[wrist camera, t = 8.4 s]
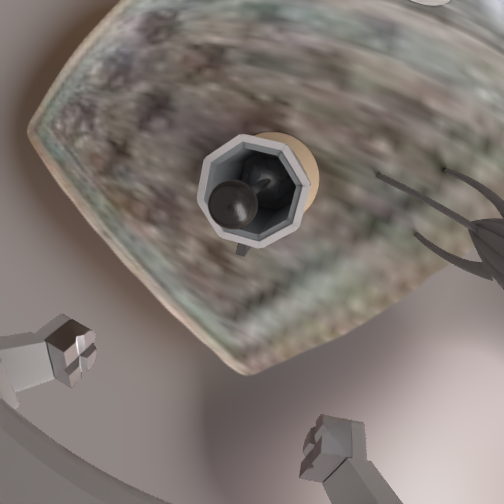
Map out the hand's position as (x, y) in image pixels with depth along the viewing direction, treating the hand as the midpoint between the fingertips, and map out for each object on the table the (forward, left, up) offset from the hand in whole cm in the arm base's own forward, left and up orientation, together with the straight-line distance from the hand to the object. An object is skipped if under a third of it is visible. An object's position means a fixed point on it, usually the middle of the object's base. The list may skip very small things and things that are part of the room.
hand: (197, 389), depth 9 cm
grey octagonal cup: (-2, -3, -36) cm, 37 cm away
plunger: (-2, -4, -32) cm, 33 cm away
